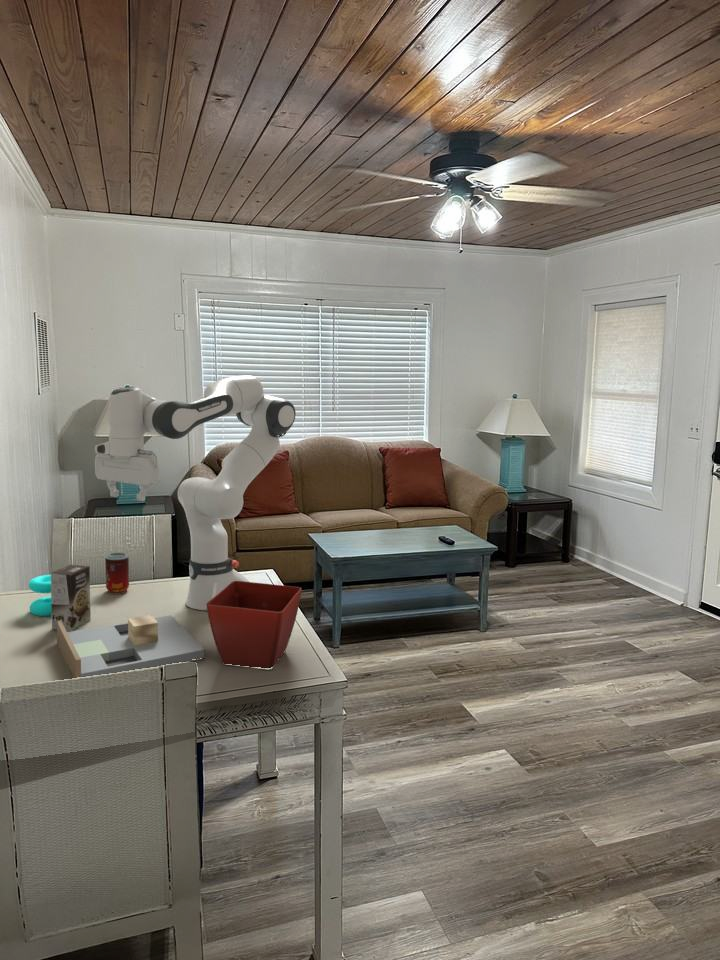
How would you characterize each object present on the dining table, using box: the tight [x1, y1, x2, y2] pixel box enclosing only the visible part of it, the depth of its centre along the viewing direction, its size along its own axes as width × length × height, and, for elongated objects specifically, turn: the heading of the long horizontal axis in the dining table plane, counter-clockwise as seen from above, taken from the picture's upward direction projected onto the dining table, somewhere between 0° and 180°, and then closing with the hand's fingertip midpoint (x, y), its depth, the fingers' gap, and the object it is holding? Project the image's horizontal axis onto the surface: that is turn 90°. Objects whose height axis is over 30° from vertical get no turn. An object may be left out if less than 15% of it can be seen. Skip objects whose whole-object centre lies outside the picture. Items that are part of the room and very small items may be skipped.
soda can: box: [104, 552, 130, 595], centre depth 214 cm, size 7×7×12 cm
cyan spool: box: [28, 574, 52, 617], centre depth 195 cm, size 10×10×10 cm
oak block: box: [127, 614, 158, 645], centre depth 171 cm, size 6×6×5 cm
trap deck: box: [56, 614, 205, 679], centre depth 170 cm, size 30×27×6 cm
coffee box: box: [50, 564, 92, 632], centre depth 185 cm, size 9×6×16 cm
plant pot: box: [206, 581, 303, 668], centre depth 168 cm, size 19×19×17 cm
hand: (127, 498), depth 180 cm, fingers open, 8 cm apart
